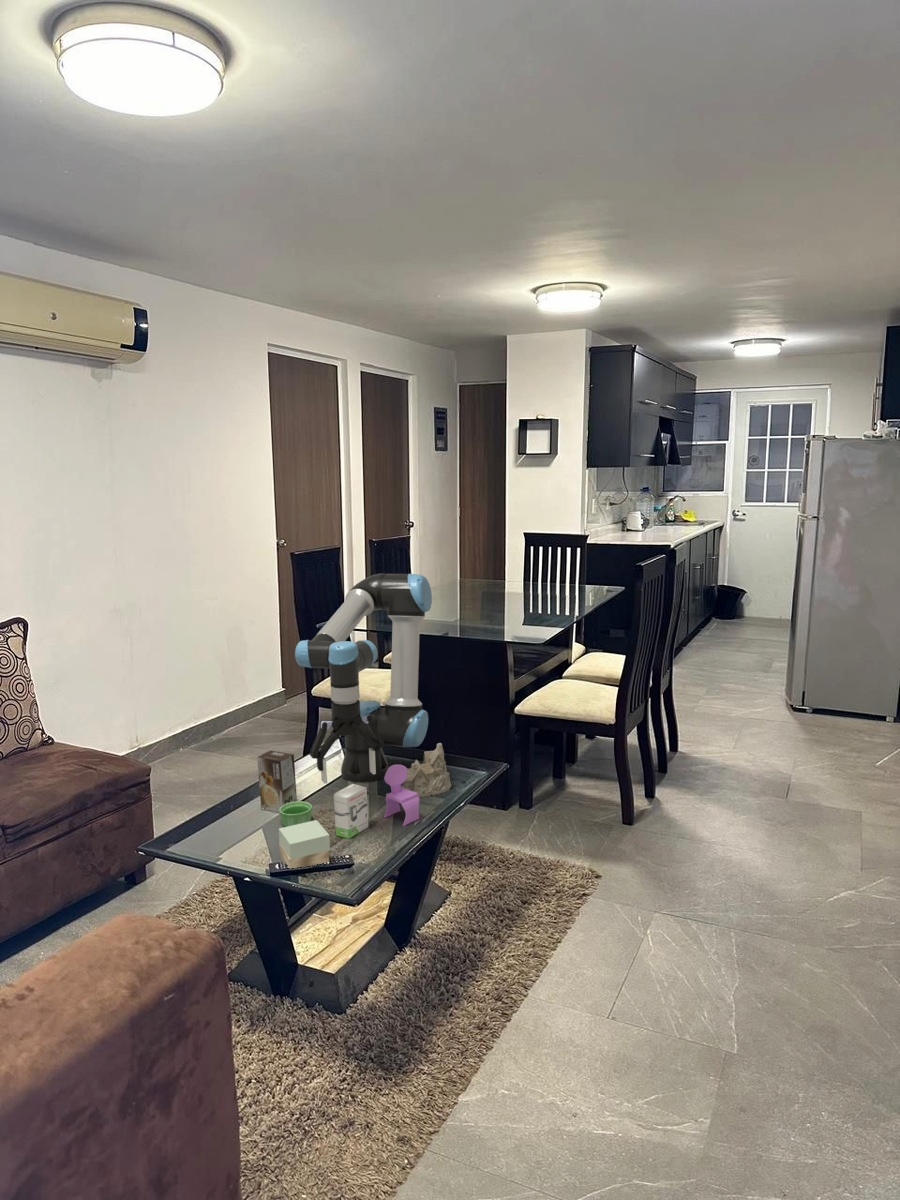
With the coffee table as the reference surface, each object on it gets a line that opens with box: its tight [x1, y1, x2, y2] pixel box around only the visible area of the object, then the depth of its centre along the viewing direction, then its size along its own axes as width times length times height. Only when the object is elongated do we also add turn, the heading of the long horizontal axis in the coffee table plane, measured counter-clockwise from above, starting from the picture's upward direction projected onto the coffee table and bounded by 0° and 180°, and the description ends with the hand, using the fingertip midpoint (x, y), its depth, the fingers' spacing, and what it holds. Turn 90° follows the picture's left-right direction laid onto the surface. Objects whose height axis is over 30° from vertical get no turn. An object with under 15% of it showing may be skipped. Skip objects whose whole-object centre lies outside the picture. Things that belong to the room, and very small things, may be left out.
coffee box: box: [256, 750, 298, 814], centre depth 236 cm, size 9×6×16 cm
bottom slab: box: [278, 842, 330, 869], centre depth 205 cm, size 10×10×4 cm
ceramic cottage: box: [401, 742, 452, 798], centre depth 249 cm, size 16×16×15 cm
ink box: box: [333, 783, 369, 839], centre depth 220 cm, size 9×5×12 cm, turn 148°
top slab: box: [278, 819, 331, 860], centre depth 205 cm, size 10×10×4 cm
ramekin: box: [279, 800, 313, 827], centre depth 227 cm, size 9×9×4 cm
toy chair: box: [382, 764, 421, 827], centre depth 227 cm, size 8×9×15 cm
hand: (348, 777), depth 218 cm, fingers open, 13 cm apart
